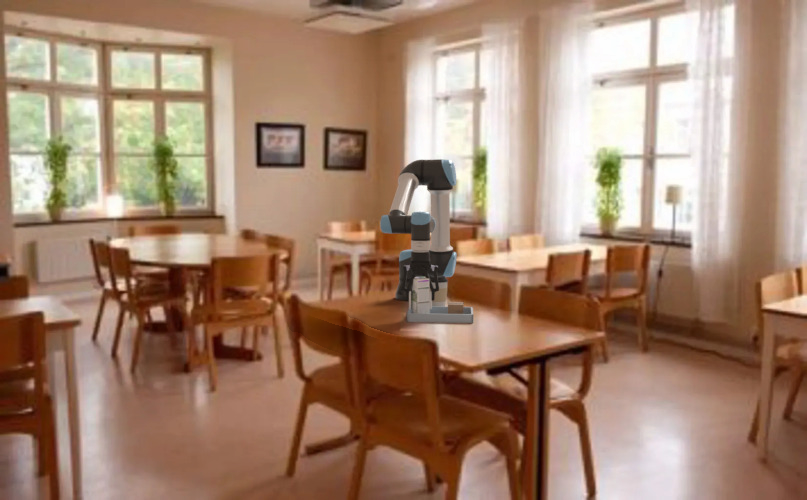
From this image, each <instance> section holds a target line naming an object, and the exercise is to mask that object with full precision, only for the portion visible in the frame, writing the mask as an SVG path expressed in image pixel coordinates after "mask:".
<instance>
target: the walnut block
mask: <svg viewBox="0 0 807 500" xmlns="http://www.w3.org/2000/svg"><path fill="white" fill-rule="evenodd" d="M447 307H448V314H463V307H464V301H448V303H447Z"/></svg>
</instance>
